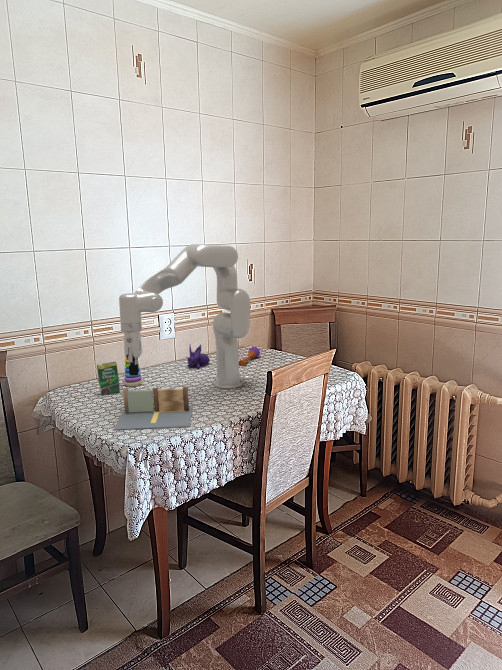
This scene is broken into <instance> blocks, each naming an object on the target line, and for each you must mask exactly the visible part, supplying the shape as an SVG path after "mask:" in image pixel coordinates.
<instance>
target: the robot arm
mask: <svg viewBox="0 0 502 670" xmlns="http://www.w3.org/2000/svg"><path fill="white" fill-rule="evenodd" d="M238 260H239V254H238V251H237V249H236V248H235V247H234V246H232V245H219V244H217V245H216V244H213V245H211V244H203V243H202V244H199V243H196V244H195V243H192V244H189V245H186V246H185V247H184V248H183V249H182V250H181V251H180V252H179V253H178V254H177V255H176V256H175V257H174V258H173V259H172V261H170V263H169V264H168V265H166V267H164V268H163V269H161V270H160V271H158V272H157V273H155V274H153V275H152V276H150V277H149V278H148V279H147V280H145V281H144V282H143V283H142V284H141V285H140V286H139V287H138V288H137V290H135V292H133V293H131V292H129V293H122V294H120V295H119V297H118V300H119V301H118V302H119V317H120V318H119V319H120V332H121V333H123V344H124V345H123V347H124V348H123V350H124V357H125V359H128V360H129V375H138V374H139V371H140V370H139V371H138V366H139V365H138V363H139V361H138V360H139V358H140V357H141V356H142V353H143V346H142V336H141V332H142V331H143V326H142V313H156V312H158V311H160V310H161V309H162V307H163V305H164V300H163V298H162V296H161V295H160V294H161V293H162V292H164V291H165V290H168V289H170V288H173V287H177V286H179V285H181V284H182V283H183V282H185V280H186V279H187V278H188V277H189V276H190V275H191V273H193V272H194V271H195V270H196V269H197V268H198V267H199V268H201V267H202V268H204V267H205V268H213V270H214V272H215V274H216V304H217V306H218V307H219V308H220V309H222V310H225V311H229V312H225V311H224V312H220V313H218V314H216V315H215V316H214V318H213V321H212V329H213V333H214V339H215V352H216V353H215V355H216V380H214V382H213V385H214V387H215V388H219V389H224V390H225V389H227V390H228V389H237V388H240V387H241V386H243V384H244V382H243V381H250V380H251V379H250V378H251V377H250V375H247V374H243V375H242V374H240V373H241V372H240V366H239V361H240V359H239V357H240V356H239V343H238V339H244V338H245V337H246V336H247V334H248V332H249V330H250V324H251V299H250V295H249V293H248V292H247V291H246V290H244V289H241V288H239V287H238V274H237V269H236V267H235V265H236V264H237V263H238Z"/></svg>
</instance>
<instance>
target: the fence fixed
mask: <svg viewBox="0 0 502 670" xmlns="http://www.w3.org/2000/svg"><path fill="white" fill-rule="evenodd" d="M152 390H153V402H154V409H155V412H168V411H189V406H190V402H189V387H188V386H187V385H186V386H183V387H182V388H162V389H159V387H153V388H152Z"/></svg>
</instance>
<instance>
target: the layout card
mask: <svg viewBox="0 0 502 670" xmlns="http://www.w3.org/2000/svg"><path fill="white" fill-rule="evenodd" d="M193 407H194V406H192V405H191V406H190V405H189V411H168V412H155V409H154V411H145V412H128V413H125V408H124V409H123V410H122V413H121V414H120V416H119V418H118V420H117V422H116V423H115V426H114V428H113V429H112V430H113V431H128V430H129V431H132V430H152V429H153V430H154V429H156V430H157V429H175V428H176V429H177V428H179V429H180V428H190V425H191V420H192V415H193V409H194V408H193Z"/></svg>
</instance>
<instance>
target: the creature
mask: <svg viewBox="0 0 502 670" xmlns="http://www.w3.org/2000/svg"><path fill="white" fill-rule="evenodd" d="M188 352H189V357H187V356H185V358H186V359H187V363H188V364H186V367H188V368H189V367H192V366H194V367H195V368H196V369H200V368H201V367H204V366H206V365H208V364H209V363H210V360H211V359H210V357H209V355H208V354H206V353H204V352H203V353H202V344H200V345H199V346H198V347H197V348H196V349H195V350H194V351H193V350H192V347H191V345H189V351H188Z"/></svg>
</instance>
